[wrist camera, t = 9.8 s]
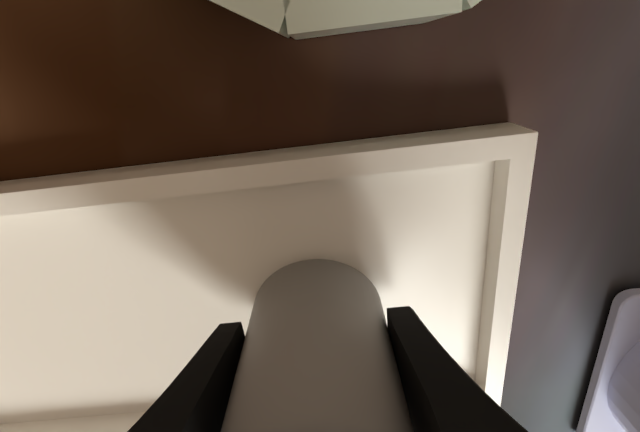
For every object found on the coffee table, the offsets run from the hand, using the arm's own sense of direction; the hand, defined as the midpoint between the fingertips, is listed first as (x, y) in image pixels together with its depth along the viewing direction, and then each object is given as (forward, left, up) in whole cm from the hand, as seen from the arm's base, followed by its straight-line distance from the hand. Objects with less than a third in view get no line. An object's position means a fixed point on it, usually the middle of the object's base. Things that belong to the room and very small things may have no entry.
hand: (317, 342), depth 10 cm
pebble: (0, 0, -1) cm, 1 cm away
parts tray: (+4, 0, -2) cm, 5 cm away
